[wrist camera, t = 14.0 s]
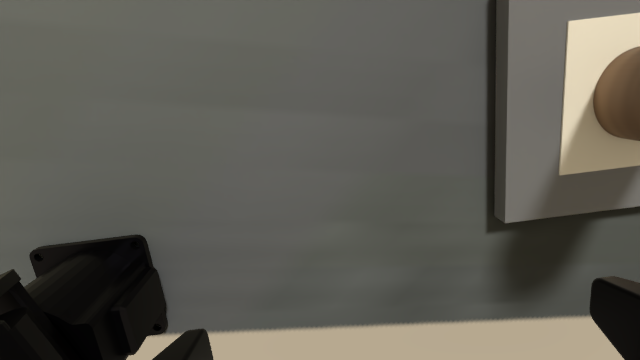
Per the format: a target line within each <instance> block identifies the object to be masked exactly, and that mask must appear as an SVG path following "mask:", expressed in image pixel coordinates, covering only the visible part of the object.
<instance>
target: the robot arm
mask: <svg viewBox="0 0 640 360" xmlns="http://www.w3.org/2000/svg"><path fill="white" fill-rule="evenodd" d="M134 241H136V242H138V243H139V245H140V246H139V247H138V246H135V245H134ZM39 254H41V255H42V256H43V258H41V257H40V256H39ZM30 260H31V263H32V266H33V269H34V272H35V274H36V277H37V278H36V279H35V280H33V281H32V282H31V283H29V284H28V285H26V286H25V287H23V286H22V284H21V283H20V282H19V281H20V280H21V278H20V277H19V275H18V274H17V273H16V272H15V270H14V269H12V270H10V271H8V272H6V273H4V274H1V275H0V360H126V358H127V357H128V355H134V354H135V353H136V352H137V351H138V350H139V348H140V346H141V345H142V343H143V342H144V340H145V338H146V337H147V336H150V335H158V334H162V333H163V332H164V331H165V329H166V328H167V325H168V322H167V318H166V314H165V310H164V308H165V306H166V303H165V299H164V295H163V291H162V287H161V284H160V280H159V276H158V272H157V270H156V269H155V268H154V267H153V264H152V260H151V256H150V252H149V249H148V245H147V241H146V239H145V238H144V237H143V236H141V235H129V236H121V237H113V238H105V239H97V240H89V241H81V242H73V243H65V244H57V245H49V246H41V247H38V248H36V249H35V250H33V251H32V252H31V253H30ZM590 314H591V317H592V319H593V320H594V322H595V323H596V324H597V325H598V327H599V328H600V329H601V331H602V332H603V333H604V334H605V336H606V337H607V338H608V339H609V341H610V342H611V343H612V344H613V346H614V347H615V348H616V349H617V351H618V352H619V353H620V354H621V355H622V357H623V358H624V359H625V360H640V283H638V282H634V281H630V280H626V279H623V278H619V277H615V276H610V277H602V278H596V279H595V280H594V281H593V282H592V287H591V298H590ZM156 324H159V325H161V327H158V326H157V325H156ZM152 360H213V355H212V351H211V346H210V342H209V337H208V334H207V331H206V330H205V329H195V330H188V331H186V332H185V333H183V334H182V335H181V336H180V337H179V338H177V339H176V340H175V341H174V342H173V343H171V344H170V345H169V346H168V347H167V348H165V349H164V350H163V351H162V352H161V353H159V354H158V355H157V356H156V357H155V358H153V359H152Z"/></svg>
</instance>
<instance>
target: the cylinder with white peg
mask: <svg viewBox="0 0 640 360" xmlns="http://www.w3.org/2000/svg"><path fill="white" fill-rule="evenodd" d="M593 107H594V113H595V116H596V118H597V120H598V122H599V124H600V125H601V127H602V128H603V129H604V130H605V131H607V132H608V133H609V134H611V135H613V136H615V137H618V138H623V139H629V140H636V141H640V46H639V47H635V48H632V49H629V50H627V51H625V52H623V53H622V54H620V55H619V56H617V57H616V58H615V59H614V60H613V61H612V62H611V63H610V64H609V65H608V66H607V67H606V68H605V70H604V71H603V73H602V74H601V76H600V78H599V80H598V82H597V85H596V87H595V91H594V98H593Z"/></svg>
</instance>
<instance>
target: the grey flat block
mask: <svg viewBox="0 0 640 360" xmlns="http://www.w3.org/2000/svg"><path fill="white" fill-rule="evenodd" d="M639 46H640V0H496V97H495V203H494V216H495V217H497V218H498V219H500V220H501V221H502V222H504V223H511V222H519V221H527V220H535V219H543V218H551V217H558V216H566V215H574V214H582V213H590V212H598V211H606V210H614V209H621V208H629V207H637V206H640V141H636V140H629V139H623V138H618V137H615V136H613V135H611V134H609V133H608V132H607V131H605V130H604V129H603V128H602V127H601V125H600V124H599V122H598V120H597V118H596V116H595V113H594V107H593V98H594V91H595V87H596V85H597V82H598V80H599V78H600V76H601V74H602V73H603V71H604V70H605V68H606V67H607V66H608V65H609V64H610V63H611V62H612V61H613V60H614V59H615V58H616V57H617V56H619V55H620V54H622V53H623V52H625V51H627V50H629V49H632V48H635V47H639Z"/></svg>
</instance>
